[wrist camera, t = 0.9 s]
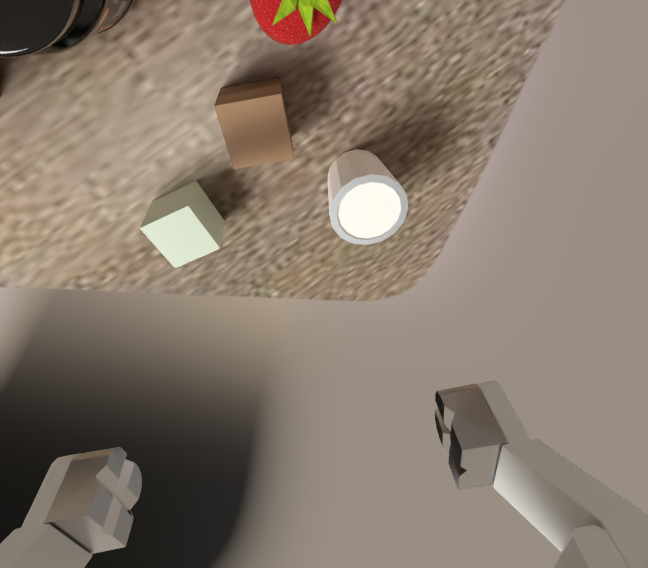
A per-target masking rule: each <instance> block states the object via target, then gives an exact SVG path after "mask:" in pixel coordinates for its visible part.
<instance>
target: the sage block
mask: <svg viewBox="0 0 648 568" xmlns="http://www.w3.org/2000/svg"><path fill="white" fill-rule="evenodd" d="M224 222H225V221H224V220H223V218H222V217H221V215H220V214H219V212H218V211H217V210H216V208H215V207H214V205H213V204H212V202H211V201H210V200H209V198H208V197H207V195H206V194H205V193H204V191H203V190H202V188H201V187H200V185H199V184H198V183H197V181H194V182H192V183H190V184H188V185H186V186H184V187H182V188H179V189H177V190H175V191H173V192H171V193H169V194H167V195H165V196H163V197H161V198H159V199H156V200H154V201H152V203H151V205H150V207H149V209H148V212H147V214H146V216H145V218H144V220H143V222H142V224H141V227H140V229H141V230H142V231H143V233H144V234H145V235H146V236H147V237H148V238H149V239H150V240H151V242H152V243H153V244H154V245H155V246H156V247H157V248H158V250H159V251H160V252H161V253H162V254H163V255H164V256H165V257H166V259H167V260H168V261H169V262H170V263H171V264H172V265H173V266H174V268H176V267H179V266H181V265H183V264H186V263H188V262H190V261H193V260H195V259H197V258H199V257H202V256H204V255H206V254H209V253H211V252H213V251H216V250H218V249H220V247H221V241H222V234H223V228H224Z"/></svg>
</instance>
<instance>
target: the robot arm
mask: <svg viewBox="0 0 648 568" xmlns="http://www.w3.org/2000/svg"><path fill="white" fill-rule="evenodd" d="M435 401H436V403H437V406H438V407H437V409H436V410H435V421H436V427H437V432H438V435H439V438H440V441H441V444H442V446H443V447H444V448H445V449H446V450H447V451H449V466H450V469H451V472H452V474H453V477H454V480H455V483H456V485H457V488H458V490H461V489H468V488H476V487H483V486H489V485H493V487H494V488H495V489H496V490H497V491H498V492H499V493H500V494H501V495H502V496H503V497H504V498H505V499H506V500H507V501H508V502H509V503H510V504H511V505H512V506H513V507H515V508H516V509H517V510H518V511H519V512H520V513H521V514H522V515H523V516H524V517H525V518H526V519H527V520H528V521H529V522H530V523H531V524H532V525H534V526H535V527H536V528H537V529H538V530H539V531H540V532H541V533H542V534H543V535H544V536H545V537H546V538H547V539H548V540H549V541H550V542H551V543H552V544H553V545H554V546H556V548H558V549H559V550H560V551H561V554H560V556H559V558H558V560H557V562H556V563H555V566H554V568H648V514H647V513H645V512H644V511H642V510H641V509H639V508H638V507H636V506H635V505H633V504H632V503H631V502H629V501H628V500H626V499H625V498H623V497H622V496H620V495H619V494H617V493H616V492H615V491H613V490H612V489H610V488H609V487H607V486H606V485H604V484H603V483H601V482H600V481H599V480H597V479H596V478H594V477H593V476H591V475H590V474H588V473H587V472H585V471H584V470H583V469H581V468H580V467H578V466H577V465H575V464H574V463H572V462H571V461H569V460H568V459H567V458H565V457H564V456H562V455H561V454H559V453H558V452H556V451H555V450H553V449H552V448H550V447H549V446H548V445H546V444H545V443H543V442H542V441H540V440H539V439H534V440H532V439H531V437H530V436H529V434H528V432H527V430H526V429H525V427H524V425H523V423H522V422H521V420H520V418H519V416H518V415H517V413H516V411H515V409H514V407H513V406H512V404H511V402H510V400H509V399H508V397H507V395H506V393H505V392H504V390H503V388H502V386H501V385H500V384H499V383H498V382H497V381H489V382H484V383H480V384H471V385H466V386H461V387H455V388H450V389H445V390H440V391H437V392H436V393H435ZM126 455H127V454H126V453H125V452H124V451H123V450H122V449H121V448H120V447H119V448H114V449H107V450H100V451H95V452H88V453H83V454H75V455H69V456H64V457H58V458H57V459H56V460H55V461H54V462H53V463H52V465H51V467H50V469H49V471H48V473H47V475H46V477H45V479H44V481H43V483H42V485H41V487H40V490H39V492H38V494H37V496H36V498H35V500H34V502H33V504H32V506H31V508H30V511H29V513H28V515H27V517H26V519H25V521H24V523H23V525H22V527H21V528H19V529H15V530H14V531H13V532H12V533H11V534H10V535H9V536H8V537H7V538H6V539H5V540H4V541H3V542H2V543H1V544H0V568H84V567H85V565H86V564H87V563H88V561H89V560H90V558H91V557H92V555H91V554H93V553H97V552H103V551H107V550H112V549H118V548H123V547H126V543H127V539H128V536H129V532H130V529H131V525H132V521H133V516H132V513H131V511H130V509H131V508H132V507H133V505H134V504H135V503H136V502H137V500H138V499H139V495H140V491H141V473H140V470H139V468H138V466H137V465H136V464H135V463H134V462H131V461H128V460H126V459H125V458H126Z"/></svg>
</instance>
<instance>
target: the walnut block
mask: <svg viewBox="0 0 648 568" xmlns="http://www.w3.org/2000/svg"><path fill="white" fill-rule="evenodd" d="M215 109H216V113H217V116H218V119H219V122H220V126H221V129H222V132H223V135H224V139H225V142H226V145H227V148H228V152H229V155H230V158H231V161H232V165H233V168H234V169H239V168H245V167H250V166H256V165H261V164H267V163H272V162H278V161H283V160H288V159H294V154H293V146H292V138H291V132H290V127H289V122H288V117H287V112H286V107H285V102H284V97H283V92H282V87H281V82H280V78H274V79H269V80H264V81H258V82H253V83H247V84H242V85H237V86H231V87H226V88H221V89H220V92H219V94H218V97H217V100H216V103H215Z"/></svg>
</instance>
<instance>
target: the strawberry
mask: <svg viewBox="0 0 648 568" xmlns="http://www.w3.org/2000/svg"><path fill="white" fill-rule="evenodd" d="M341 1H342V0H250V2H251V7H252V10H253V13H254V16H255V18H256V20H257V22H258V24H259V26H260V27H261V28H262V30H263V31H264V32H265V33H266V34H267V35H268V36H269V37H270V38H272V39H273V40H275V41H277V42H279V43H282V44H289V45H293V44H300V43H303V42H305V41H308V40H310V39H311V38H313V37H314V36H316V35H317V34H319V33H320V32H321V31H322V30H323V29H324V28H325V27H326V26H327V25H328V23H329V22H330V21H331V20H333V21H334V22H335V23H337V21H336V18H335V16H334V15H335V13H336V11H337V9H338V8H339V6H340V3H341Z"/></svg>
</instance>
